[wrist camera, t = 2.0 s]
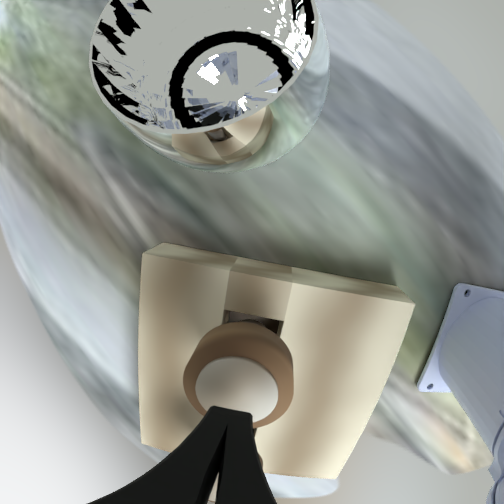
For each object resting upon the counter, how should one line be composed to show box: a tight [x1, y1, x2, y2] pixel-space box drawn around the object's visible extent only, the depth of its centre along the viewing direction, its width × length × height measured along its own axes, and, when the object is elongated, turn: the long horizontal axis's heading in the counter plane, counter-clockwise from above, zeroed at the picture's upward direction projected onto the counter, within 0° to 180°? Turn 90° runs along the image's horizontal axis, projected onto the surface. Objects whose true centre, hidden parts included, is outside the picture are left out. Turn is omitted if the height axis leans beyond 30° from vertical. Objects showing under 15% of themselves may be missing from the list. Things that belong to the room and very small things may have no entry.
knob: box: [183, 319, 294, 428], centre depth 14 cm, size 4×4×5 cm
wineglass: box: [89, 0, 330, 173], centre depth 10 cm, size 6×6×12 cm
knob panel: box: [138, 242, 415, 479], centre depth 18 cm, size 14×14×3 cm
